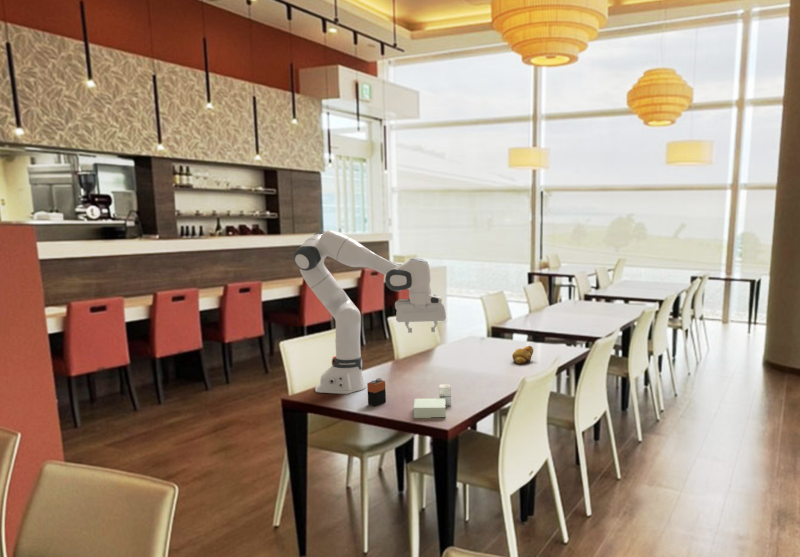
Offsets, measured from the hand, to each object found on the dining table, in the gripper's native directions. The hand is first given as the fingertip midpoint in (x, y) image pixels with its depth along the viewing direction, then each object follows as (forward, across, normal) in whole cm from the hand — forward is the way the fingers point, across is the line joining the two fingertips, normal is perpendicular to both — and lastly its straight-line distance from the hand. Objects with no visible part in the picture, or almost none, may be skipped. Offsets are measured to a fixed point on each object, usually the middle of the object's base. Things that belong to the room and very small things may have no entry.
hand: (421, 332), depth 225 cm
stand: (+29, +3, -14) cm, 32 cm away
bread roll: (+30, +48, +64) cm, 86 cm away
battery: (+29, -19, -2) cm, 35 cm away
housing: (+29, +9, -3) cm, 31 cm away
